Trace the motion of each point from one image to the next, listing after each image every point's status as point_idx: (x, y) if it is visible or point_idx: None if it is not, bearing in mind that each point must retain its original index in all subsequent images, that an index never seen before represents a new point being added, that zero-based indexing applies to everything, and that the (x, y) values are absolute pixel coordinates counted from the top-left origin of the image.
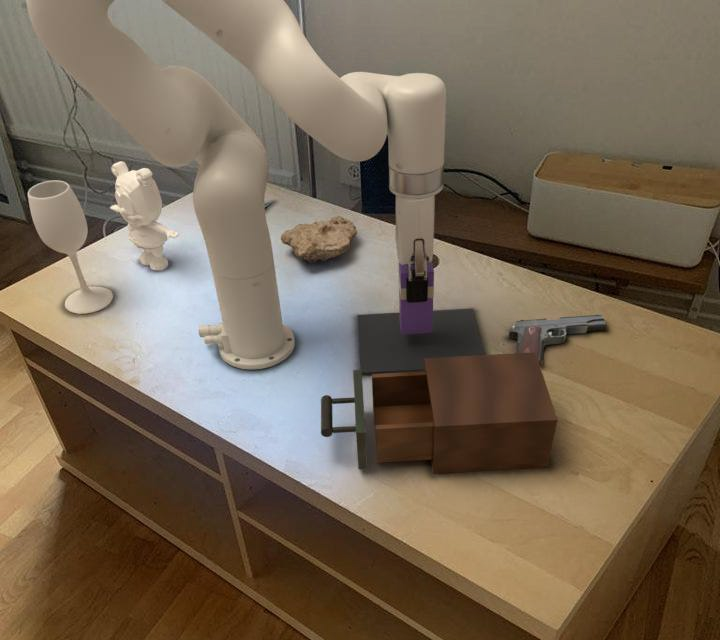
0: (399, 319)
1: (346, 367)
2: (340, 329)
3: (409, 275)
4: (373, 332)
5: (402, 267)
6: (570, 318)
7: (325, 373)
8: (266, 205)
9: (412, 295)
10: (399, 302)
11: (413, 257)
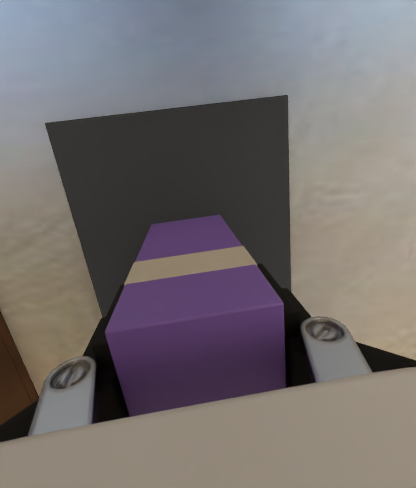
0: (215, 215)
1: (75, 81)
2: (236, 50)
3: (40, 401)
4: (211, 144)
5: (178, 333)
6: None
7: (37, 18)
8: None
9: (98, 324)
10: (213, 230)
11: (292, 368)
